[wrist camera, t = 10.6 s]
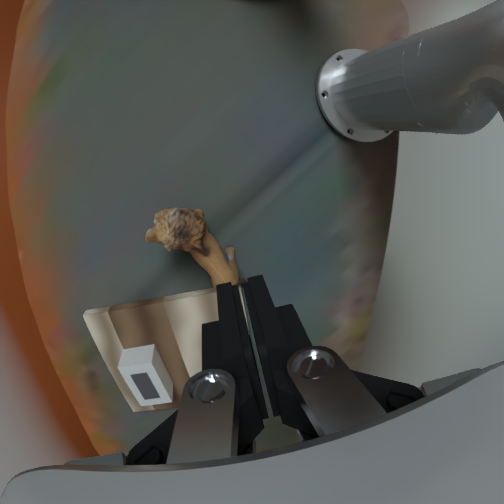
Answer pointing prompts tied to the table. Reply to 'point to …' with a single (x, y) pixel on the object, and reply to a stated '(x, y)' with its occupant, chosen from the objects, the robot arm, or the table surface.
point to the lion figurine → (194, 242)
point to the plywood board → (156, 336)
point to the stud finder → (146, 375)
